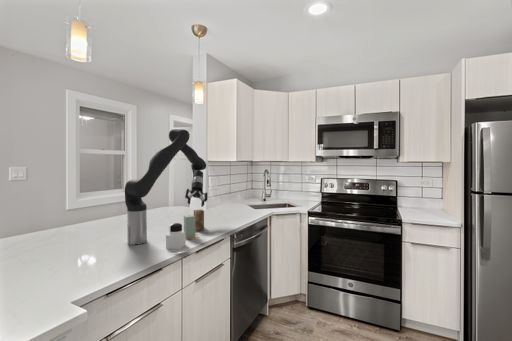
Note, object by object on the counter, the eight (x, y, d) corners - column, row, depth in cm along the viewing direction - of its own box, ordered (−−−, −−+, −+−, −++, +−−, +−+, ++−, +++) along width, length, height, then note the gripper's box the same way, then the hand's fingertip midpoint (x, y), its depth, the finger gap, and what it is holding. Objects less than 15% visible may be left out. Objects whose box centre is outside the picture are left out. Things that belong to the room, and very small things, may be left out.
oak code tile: (182, 242, 137) (182, 241, 137) (178, 237, 145) (178, 236, 145) (200, 239, 141) (200, 238, 141) (195, 234, 150) (195, 233, 150)
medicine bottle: (185, 245, 131) (185, 222, 131) (179, 250, 124) (179, 225, 124) (172, 245, 132) (171, 221, 131) (165, 249, 125) (165, 225, 124)
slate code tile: (193, 234, 151) (193, 233, 151) (188, 230, 160) (188, 229, 160) (209, 231, 156) (209, 230, 156) (204, 228, 165) (204, 227, 165)
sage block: (186, 239, 140) (186, 217, 139) (183, 236, 144) (183, 215, 144) (195, 237, 142) (195, 216, 142) (192, 235, 147) (192, 214, 146)
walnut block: (196, 231, 155) (195, 211, 154) (193, 229, 159) (193, 210, 159) (204, 230, 157) (204, 211, 157) (201, 228, 162) (201, 209, 161)
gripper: (188, 179, 169) (186, 200, 159) (209, 183, 175) (208, 204, 165) (185, 185, 174) (183, 206, 164) (205, 189, 180) (204, 209, 170)
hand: (195, 205), depth 164 cm, fingers open, 8 cm apart
